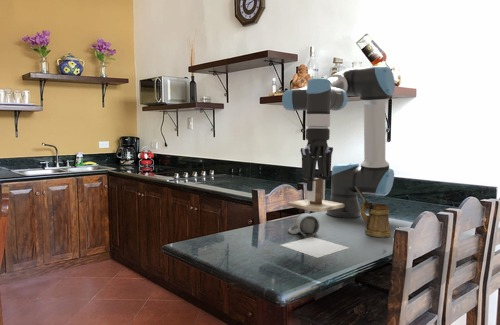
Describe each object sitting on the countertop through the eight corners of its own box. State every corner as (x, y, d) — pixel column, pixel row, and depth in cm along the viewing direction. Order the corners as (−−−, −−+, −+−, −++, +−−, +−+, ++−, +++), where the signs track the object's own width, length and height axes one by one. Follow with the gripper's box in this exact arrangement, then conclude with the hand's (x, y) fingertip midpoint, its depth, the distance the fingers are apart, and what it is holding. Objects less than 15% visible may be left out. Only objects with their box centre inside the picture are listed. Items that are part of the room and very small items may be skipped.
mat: (312, 238, 143) (312, 236, 143) (349, 249, 131) (349, 247, 131) (279, 246, 132) (279, 245, 132) (317, 259, 120) (317, 257, 120)
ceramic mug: (313, 230, 153) (314, 210, 153) (319, 236, 145) (319, 215, 144) (286, 231, 152) (286, 211, 152) (291, 237, 144) (291, 216, 143)
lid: (313, 200, 139) (314, 175, 139) (344, 207, 130) (345, 179, 129) (287, 205, 131) (287, 178, 130) (318, 212, 121) (318, 183, 120)
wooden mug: (351, 230, 155) (353, 184, 153) (388, 231, 153) (390, 185, 151) (354, 236, 146) (356, 187, 144) (393, 238, 144) (395, 188, 142)
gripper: (325, 127, 136) (323, 195, 138) (290, 127, 125) (289, 201, 128) (343, 127, 130) (341, 198, 133) (308, 128, 119) (306, 205, 122)
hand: (315, 199), depth 130 cm, fingers closed on lid, 4 cm apart
